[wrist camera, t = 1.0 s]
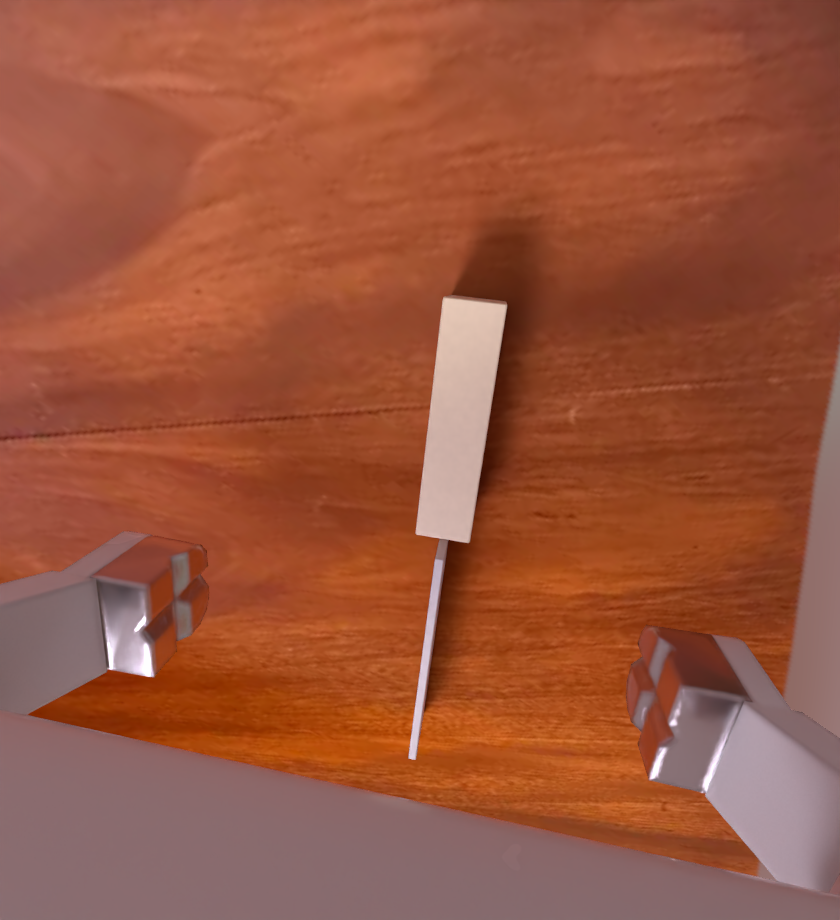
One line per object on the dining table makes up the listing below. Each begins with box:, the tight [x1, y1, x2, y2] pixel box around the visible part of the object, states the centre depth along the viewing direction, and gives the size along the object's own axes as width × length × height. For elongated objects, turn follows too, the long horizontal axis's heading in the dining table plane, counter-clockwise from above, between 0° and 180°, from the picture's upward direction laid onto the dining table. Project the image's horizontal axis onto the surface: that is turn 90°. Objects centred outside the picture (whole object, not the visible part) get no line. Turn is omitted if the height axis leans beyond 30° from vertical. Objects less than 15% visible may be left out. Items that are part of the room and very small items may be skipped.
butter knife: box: [408, 295, 507, 760], centre depth 24 cm, size 23×2×3 cm, turn 174°
